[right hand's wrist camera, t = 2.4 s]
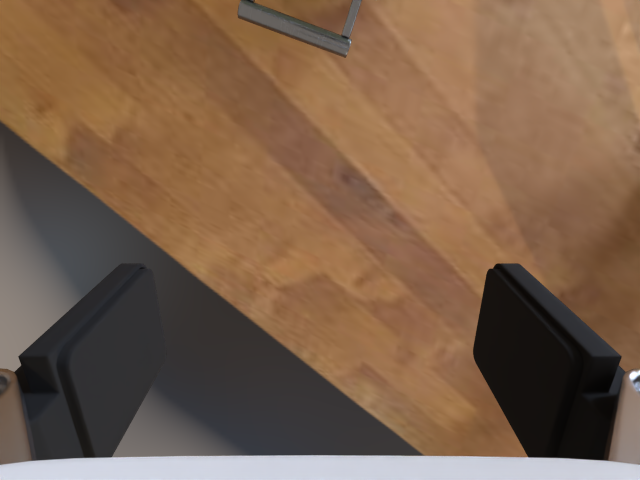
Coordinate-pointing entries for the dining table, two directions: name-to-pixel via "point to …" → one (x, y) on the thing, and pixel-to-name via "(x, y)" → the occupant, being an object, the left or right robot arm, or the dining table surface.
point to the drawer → (300, 26)
